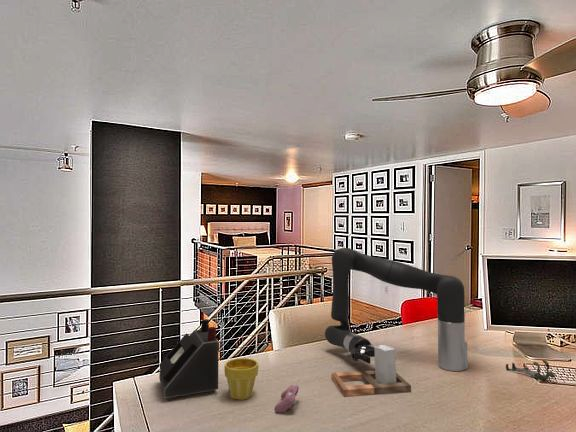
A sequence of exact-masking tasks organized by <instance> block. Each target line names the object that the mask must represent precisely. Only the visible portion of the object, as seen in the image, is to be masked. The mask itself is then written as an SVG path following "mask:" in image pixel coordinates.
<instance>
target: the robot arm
mask: <svg viewBox="0 0 576 432" xmlns="http://www.w3.org/2000/svg"><path fill="white" fill-rule="evenodd" d="M331 267H332V269H331V270H332V299H331V300H332V301H331V309H330V310H331V312H330V318H331V319H332V320H333V321H337V322H339V323H340V325H329V326H328V327H327V328H326V329H325V331H324V336H325V339H326V341H327V342H328V343H329V344H331V345H334V346H338V347H341V348H343V349H344V350H346V351H347V352H348V357H349V358H351V359H352V360H353V361H355V362H358V361H359V360H360V362H364V363H366V364H367V365H369V364H371V358H375V350H374V345H372V343H371V342H370V340H369V339H367V338H366V337H363V336H362V335H360V334H357V333H355V332H353V331H351V327H350V323H349V308H350V306H349V305H350V298H349V297H350V296H349V295H350V294H349V276H350V271H351V270H352V271H356V272H362V273H365V274H368V275H370V276H372V277H373V278H376V279H377V280H380V281H382V282H384V283H387V284H390V285H393V286H396V287H401V288H406V289H414V290H415V289H416V290H423V291H426V292H430V293H432V294H436V304H437V305H436V309H437V361H438V362H437V364H438V367H439V368H440V369H443V370H446V371H451V372H461V371H465V370H467V369H468V362H469V361H468V342H467V341H466V338H465V337H466V335H465V333H466V331H465V330H466V329H465V326H466V325H465V317H466V315H465V313H466V312H465V285H464V284H463V282H462V280H461V279H460V278H458V277H456V276H452V275H446V274H440V273H434V272H430V271H426V270H424V269H421V268H419V267H417V266H416V267H415V266H413V265H409V264H407V263H403V262H399V261H397V260H396V261H395V260H391V259H387V258H382V257H378V256H377V257H375V256H371V255H368V254H365V253H362V252H360V251H357V250H354V249H352V248H349V247H342V248H339V249H336V250H335V251H334V252H333V254H332V255H331Z"/></svg>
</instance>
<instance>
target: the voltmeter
mask: <svg viewBox="0 0 576 432" xmlns="http://www.w3.org/2000/svg"><path fill="white" fill-rule="evenodd" d="M209 321H210V320H209V319H201V326H200V329H195V330H194V329H193V331H192V332H191V333H190V334H188V333H185V334H184V335H183V336H182V338H181V339H180V340H179V341H178V342H177V343H176V344H175V346H173V348H172V349H171V350H170V351H169V352H168V353H167V355H166V356H165V357H164V359H163V360H162V361H161V362H160V363H159V364H158V365H159V373H158V374H159V383H160V386H161V390H162V394H163V397H164V399H167V400H168V401H173V400H175V399H176V398H175V397H179V396H181V397H182V396H186V395H187V396H188V395H192V394H193V395H194V394H198V393H204V392H206V394H213V393H214V391H216V390H219V343H220V342H219V340H218V339H217V331H216V329H217V328H216V326H210V324H209Z"/></svg>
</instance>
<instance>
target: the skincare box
mask: <svg viewBox="0 0 576 432" xmlns="http://www.w3.org/2000/svg"><path fill="white" fill-rule="evenodd" d="M373 346H374V345H373ZM374 350H375V357H374V370H375V376H376V379H375V381H376V382H377V383H378V384H384V383H396V373H397V364H396V363H397V361H396V358H397V357H396V348H393V347H391V346H388V345H385V344H380V345H375V346H374Z"/></svg>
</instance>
